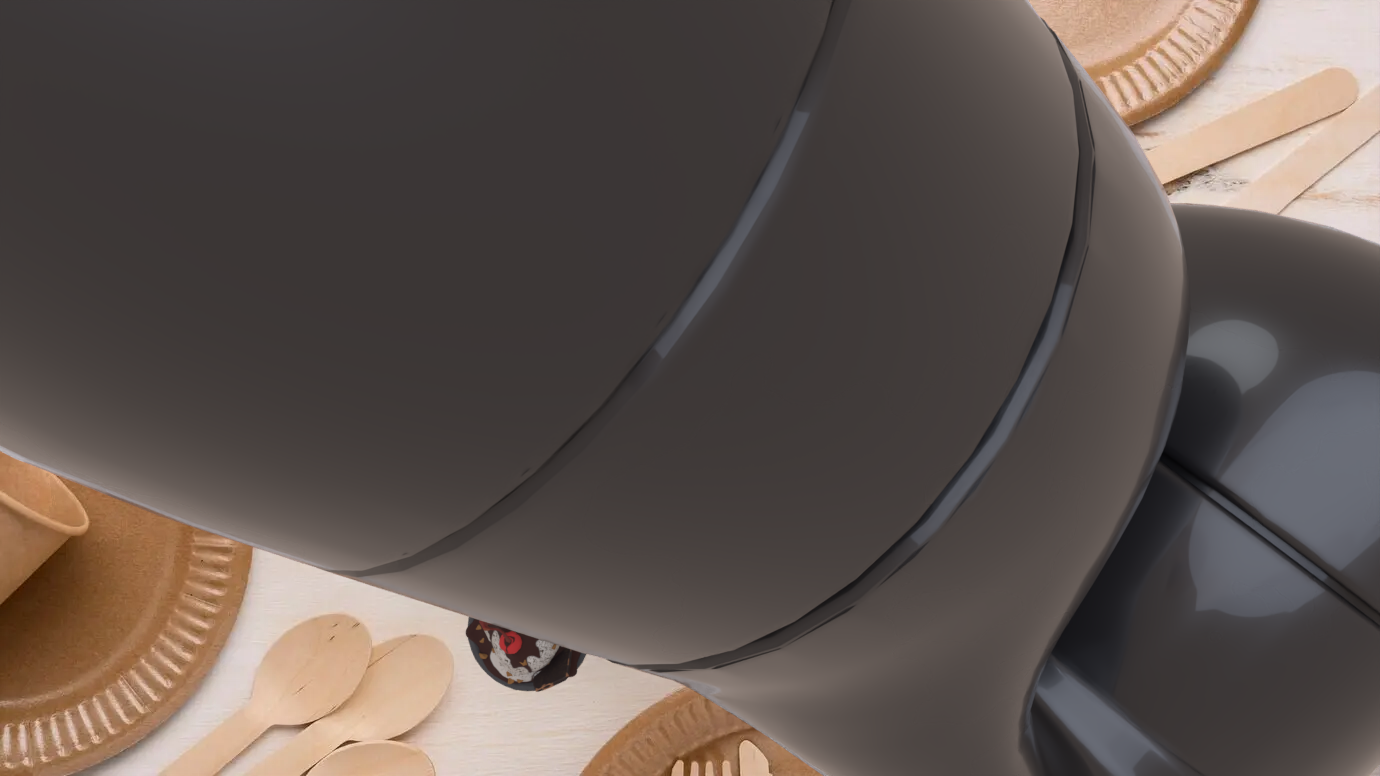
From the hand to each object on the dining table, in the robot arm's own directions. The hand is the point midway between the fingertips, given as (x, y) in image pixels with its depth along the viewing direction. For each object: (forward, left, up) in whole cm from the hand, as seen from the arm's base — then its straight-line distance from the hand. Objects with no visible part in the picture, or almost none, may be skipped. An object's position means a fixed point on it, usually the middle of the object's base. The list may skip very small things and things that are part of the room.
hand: (702, 179), depth 45 cm
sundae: (-6, -22, -22) cm, 32 cm away
